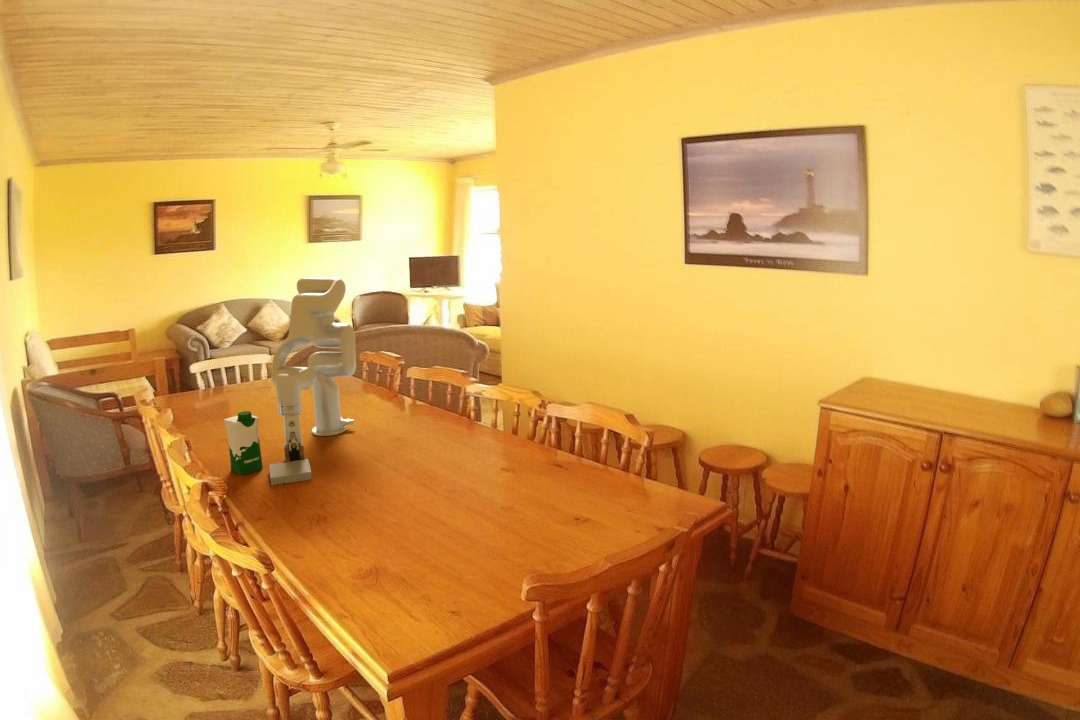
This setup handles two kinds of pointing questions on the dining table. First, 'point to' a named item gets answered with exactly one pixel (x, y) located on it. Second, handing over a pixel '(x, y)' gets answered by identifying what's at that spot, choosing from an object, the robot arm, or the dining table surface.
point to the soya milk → (244, 443)
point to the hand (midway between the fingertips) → (294, 456)
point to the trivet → (290, 472)
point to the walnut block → (287, 449)
